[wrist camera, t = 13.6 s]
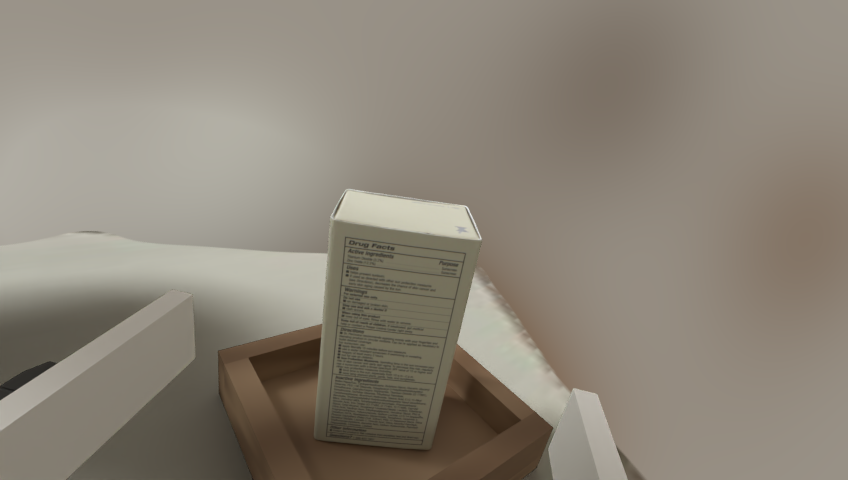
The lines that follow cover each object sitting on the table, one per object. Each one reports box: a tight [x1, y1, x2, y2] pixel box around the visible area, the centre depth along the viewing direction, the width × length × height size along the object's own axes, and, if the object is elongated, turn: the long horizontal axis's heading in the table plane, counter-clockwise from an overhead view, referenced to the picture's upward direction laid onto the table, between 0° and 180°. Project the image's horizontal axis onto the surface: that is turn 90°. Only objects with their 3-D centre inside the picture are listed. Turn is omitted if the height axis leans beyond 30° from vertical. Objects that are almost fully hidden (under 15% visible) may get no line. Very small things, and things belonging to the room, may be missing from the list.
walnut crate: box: [218, 324, 553, 480], centre depth 22 cm, size 13×13×3 cm
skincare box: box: [314, 189, 482, 450], centre depth 20 cm, size 6×4×12 cm
